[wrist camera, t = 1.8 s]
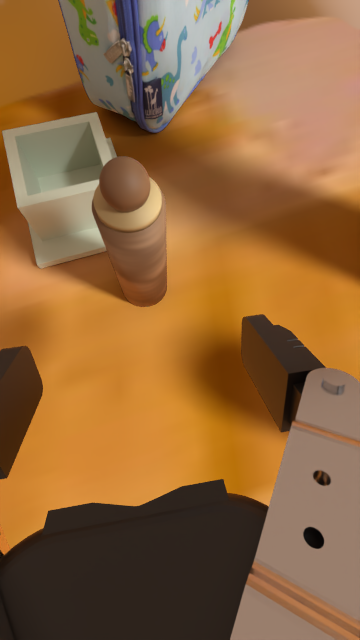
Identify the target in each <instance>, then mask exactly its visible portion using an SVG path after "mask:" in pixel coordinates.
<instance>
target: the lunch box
mask: <svg viewBox="0 0 360 640" xmlns="http://www.w3.org/2000/svg"><path fill="white" fill-rule="evenodd" d="M58 1H59V5H60V8H61V11H62V15H63V18H64V22H65V25H66V29H67V32H68V35H69V39H70V43H71V47H72V50H73V54H74V58H75V61H76V65H77V68H78V71H79V74H80V78H81V80H82V83H83V86H84V89H85V91H86V93H87V95H88V97H89V99H90V100H91V102H92V103H93V104H95V105H97V106H99V107H102V108H105V109H107V110H111V111H114V112H116V113H119V114H122V115H124V116H125V117H127V118H129V119H131V120H133V121H136V122H137V124H138V125H139V126H140V128H142V129H145V130H146V131H149V132H152V133H158V132H160V131H162V130H163V129H164V128H165V127H166V126H167V125H168V123H169V122H170V121H171V119H172V118H173V117H174V115H175V114H176V112H177V111H178V110H179V108H180V107H181V106H182V104H183V103H184V102H185V101H186V99H187V98H188V97H189V96H190V94H191V93H192V92H193V90H194V89H195V88H196V87H197V85H198V84H199V83H200V81H201V80H202V79H203V78H204V76H205V75H206V73H207V72H208V71H209V70H210V68H211V67H212V66H213V65H214V63H215V62H216V60H217V59H218V58H219V57H220V56H221V55H222V54H223V53H224V52H225V51H226V50H227V49H228V47H229V46H230V44H231V43H232V41H233V40H234V38H235V36H236V33H237V31H238V29H239V27H240V25H241V23H242V20H243V18H244V14H245V11H246V8H247V4H248V1H249V0H58Z"/></svg>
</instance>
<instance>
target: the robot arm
mask: <svg viewBox="0 0 360 640" xmlns="http://www.w3.org/2000/svg"><path fill="white" fill-rule="evenodd" d="M241 355H242V361H243V364H244V366H245V368H246V370H247V372H248V374H249V376H250V377H251V379H252V381H253V383H254V385H255V386H256V388H257V390H258V392H259V394H260V395H261V397H262V399H263V401H264V403H265V404H266V406H267V408H268V410H269V412H270V413H271V415H272V417H273V419H274V421H275V422H276V424H277V426H278V428H279V430H280V431H281V432H286V431H290V432H289V436H288V440H287V443H286V447H285V451H284V454H283V458H282V461H281V465H280V469H279V472H278V476H277V480H276V483H275V487H274V490H273V494H272V498H271V501H270V505H269V507H268V506H267V505H265V504H263V503H261V502H259V501H257V500H254V499H252V498H249V497H246V496H242V495H238V494H232V493H227V491H226V487H225V484H224V480H223V479H220V480H215V481H209V482H204V483H198V484H193V485H187V486H182V487H180V488H178V489H175V490H173V491H171V492H169V493H167V494H165V495H162V496H160V497H158V498H156V499H154V500H152V501H149V502H147V503H145V504H143V505H140V506H123V505H112V504H101V503H89V504H83V505H78V506H72V507H67V508H61V509H56V510H50V511H48V514H47V518H46V522H45V525H44V528H43V529H41V530H39V531H37V532H35V533H33V534H32V535H30V536H28V537H27V538H25V539H24V540H22V541H21V542H20V543H18V544H17V545H15V546H14V547H13V548H12V549H10V547H9V545H8V542H7V540H6V538H5V535H4V532H3V530H2V527H1V525H0V640H360V383H359V381H358V380H357V379H355V378H354V377H353V376H351V375H349V374H348V373H345V372H343V371H340V370H337V369H331V368H326V367H325V366H324V365H323V364H322V363H321V362H320V361H319V360H318V359H317V358H316V357H315V356H314V355H313V354H312V353H311V352H310V351H309V350H308V349H307V348H306V347H304V345H303V344H302V343H301V341H300V340H298V338H297V337H296V336H295V335H294V334H293V333H292V332H291V331H290V330H288V329H286V328H284V327H282V326H280V325H273V324H272V323H271V322H270V321H269V320H268V319H267V318H266V316H265V315H263V314H261V315H254V316H246V317H243V319H242V337H241ZM42 392H43V385H42V380H41V377H40V374H39V372H38V369H37V367H36V364H35V362H34V359H33V357H32V354H31V352H30V350H29V348H28V347H26V346H21V347H14V348H6V349H2V350H1V351H0V479H5V478H7V477H8V475H9V472H10V470H11V468H12V465H13V463H14V461H15V458H16V456H17V453H18V451H19V449H20V446H21V444H22V442H23V439H24V437H25V435H26V432H27V430H28V427H29V425H30V423H31V420H32V418H33V416H34V413H35V411H36V408H37V406H38V404H39V401H40V399H41V397H42Z"/></svg>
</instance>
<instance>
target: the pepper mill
mask: <svg viewBox="0 0 360 640" xmlns="http://www.w3.org/2000/svg"><path fill="white" fill-rule="evenodd" d="M92 213H93V216H94V219H95V221H96V224H97V227H98V229H99V232H100V234H101V237H102V239H103V242H104V245H105V247H106V250H107V252H108V255H109V258H110V260H111V263H112V265H113V268H114V270H115V273H116V276H117V278H118V281H119V283H120V286H121V289H122V291H123V294H124V296H125V298H126V299H127V300H128V301H129V302H130V303H132V304H134V305H136V306H140V307H149V306H152V305H155V304H157V303H158V302H159V301H160V300H161V299H162V298H163V297H164V295H165V293H166V290H167V253H166V201H165V197H164V195H163V192H162V191H161V189H160V188H159V187H158V185H157V184H156V182H155V181H154V180H153V179H151V178H150V177H149V175H148V173H147V171H146V169H145V168H144V167H143V166H142V164H141V163H139V162H138V161H137V160H135V159H133V158H131V157H127V156H119V157H115V158H113V159H111V160H109V161H108V162H107V163H106V164H105V165H104V167H103V168H102V170H101V173H100V177H99V184H98V186H97V188H96V190H95V192H94V197H93V200H92Z"/></svg>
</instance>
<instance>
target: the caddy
mask: <svg viewBox="0 0 360 640" xmlns="http://www.w3.org/2000/svg"><path fill="white" fill-rule="evenodd" d="M2 133H3V138H4V143H5V148H6V153H7V158H8V163H9V168H10V173H11V178H12V183H13V187H14V192H15V197H16V202H17V207H18V209H19V210H20V212H21V213H22V214H23V216H24V217H25V218H26V220H27V221H28V225H29V230H30V235H31V239H32V244H33V249H34V254H35V258H36V263H37V266H38V267H39V268H40V269H41V268H45V267H48V266H52V265H56V264H60V263H64V262H67V261H71V260H75V259H79V258H82V257H86V256H90V255H94V254H97V253H101V252H105V251H107V250H106V247H105V245H104V242H103V239H102V237H101V234H100V232H99V229H98V227H97V224H96V221H95V219H94V216H93V213H92V200H93V197H94V192H95V190H96V188H97V186H98V184H99V177H100V173H101V170H102V168H103V167H104V165H105V164H106V163H107V162H108V161H109V160H111V159H113V158H115V157H117V155H116V153H115V150H114V147H113V144H112V141H111V138H105V135H104V132H103V129H102V126H101V123H100V120H99V117H98V114H97V112H94V113H89V114H84V115H79V116H74V117H69V118H64V119H59V120H54V121H49V122H44V123H39V124H34V125H29V126H24V127H19V128H14V129H9V130H4V131H2Z"/></svg>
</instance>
